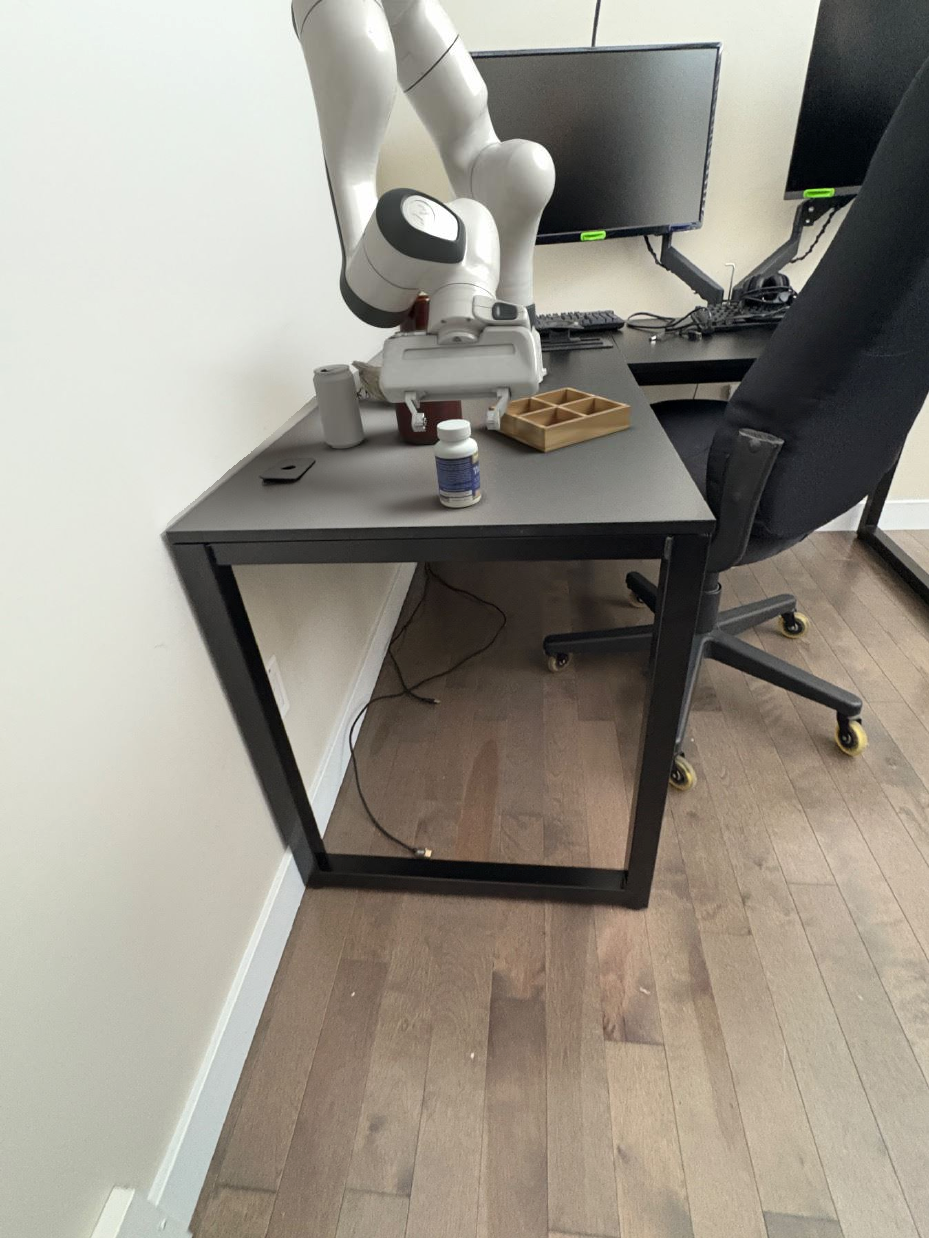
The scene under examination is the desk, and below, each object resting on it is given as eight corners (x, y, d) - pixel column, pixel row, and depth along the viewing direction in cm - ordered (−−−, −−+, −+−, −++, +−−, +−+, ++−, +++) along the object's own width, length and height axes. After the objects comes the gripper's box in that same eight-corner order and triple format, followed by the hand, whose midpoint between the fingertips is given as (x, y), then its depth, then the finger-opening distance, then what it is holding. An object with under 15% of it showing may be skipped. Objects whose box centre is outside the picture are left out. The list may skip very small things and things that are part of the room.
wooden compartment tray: (489, 427, 101) (488, 406, 99) (567, 407, 106) (567, 387, 104) (544, 452, 89) (544, 429, 87) (629, 428, 94) (630, 405, 92)
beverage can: (319, 446, 100) (302, 370, 94) (349, 434, 104) (335, 361, 97) (342, 452, 97) (326, 374, 90) (373, 440, 100) (359, 364, 93)
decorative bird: (406, 411, 113) (401, 370, 109) (350, 402, 122) (343, 364, 118) (426, 404, 116) (421, 363, 112) (370, 396, 125) (363, 358, 121)
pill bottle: (485, 505, 75) (479, 427, 70) (443, 511, 75) (434, 433, 69) (477, 489, 80) (471, 415, 74) (437, 495, 79) (428, 420, 74)
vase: (474, 426, 102) (464, 291, 90) (442, 447, 94) (427, 303, 83) (421, 422, 106) (405, 293, 95) (386, 442, 99) (364, 304, 87)
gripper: (377, 317, 76) (367, 418, 73) (539, 306, 72) (534, 413, 70) (391, 347, 82) (383, 442, 80) (542, 339, 78) (537, 438, 76)
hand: (455, 428), depth 75 cm, fingers open, 8 cm apart
